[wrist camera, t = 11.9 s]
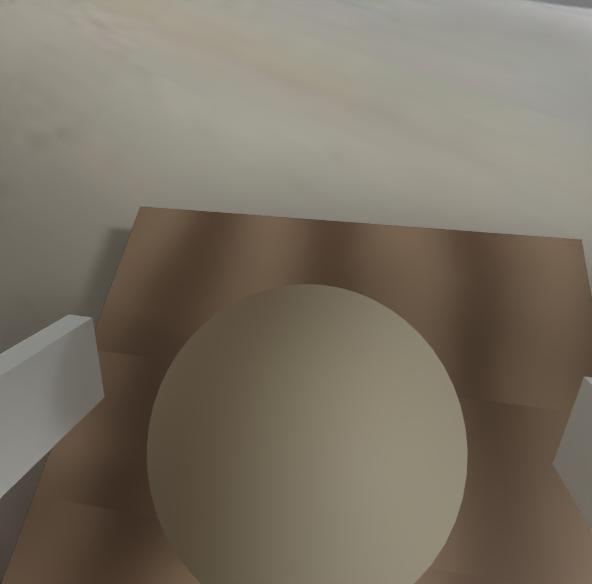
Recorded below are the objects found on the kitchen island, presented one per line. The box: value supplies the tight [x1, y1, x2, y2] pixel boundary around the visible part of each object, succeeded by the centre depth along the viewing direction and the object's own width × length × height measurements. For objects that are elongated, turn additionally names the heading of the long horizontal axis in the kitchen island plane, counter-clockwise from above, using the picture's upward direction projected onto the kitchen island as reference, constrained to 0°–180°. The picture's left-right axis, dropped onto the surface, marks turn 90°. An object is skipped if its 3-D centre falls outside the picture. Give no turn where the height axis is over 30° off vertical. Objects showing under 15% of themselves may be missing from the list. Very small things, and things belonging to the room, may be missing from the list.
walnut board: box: [1, 207, 592, 584], centre depth 17 cm, size 22×22×3 cm
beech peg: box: [147, 284, 468, 584], centre depth 12 cm, size 4×4×14 cm
